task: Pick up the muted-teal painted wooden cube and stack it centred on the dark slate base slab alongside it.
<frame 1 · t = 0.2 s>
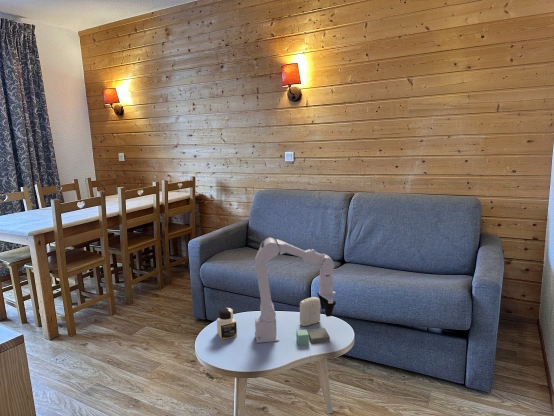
hand: (326, 312, 167), 10 cm above the table, fingers open, 7 cm apart
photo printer: (310, 323, 179), on the table
base: (318, 337, 165), on the table
cube: (302, 342, 162), on the table
medicine bottle: (227, 335, 170), on the table
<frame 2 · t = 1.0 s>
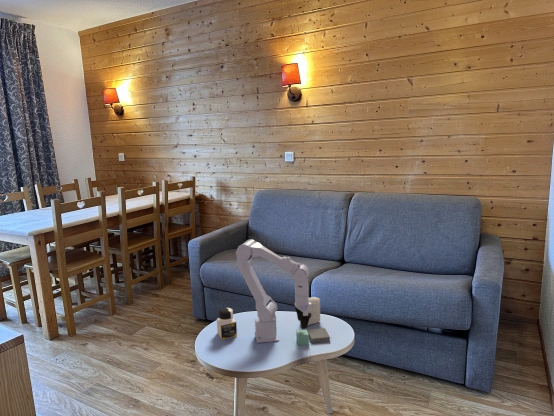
hand: (302, 324, 161), 8 cm above the table, fingers open, 7 cm apart
nothing on the table moved.
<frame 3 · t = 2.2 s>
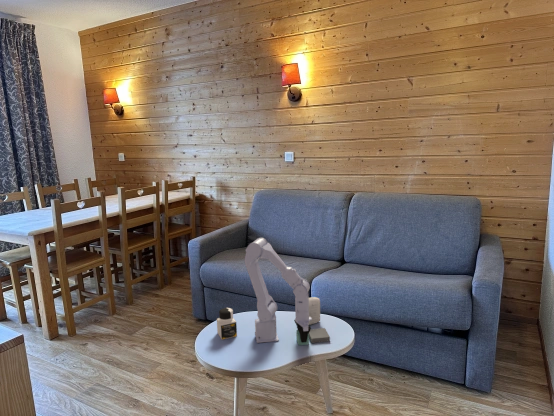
hand: (302, 338, 162), 1 cm above the table, fingers closed on cube, 4 cm apart
cube: (302, 342, 162), on the table, touching gripper
everything else where it was.
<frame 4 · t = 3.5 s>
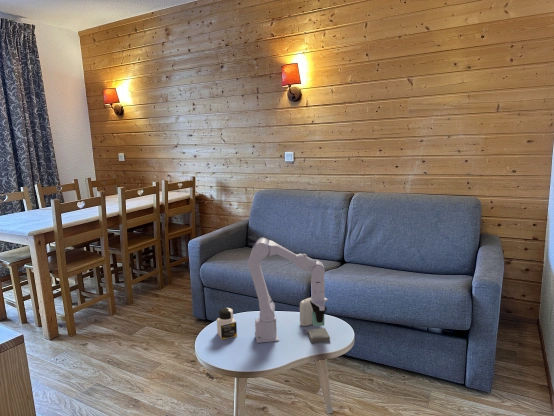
hand: (318, 319, 164), 8 cm above the table, fingers closed on cube, 4 cm apart
cube: (318, 323, 164), point 7 cm above the table, touching gripper
everything else where it was.
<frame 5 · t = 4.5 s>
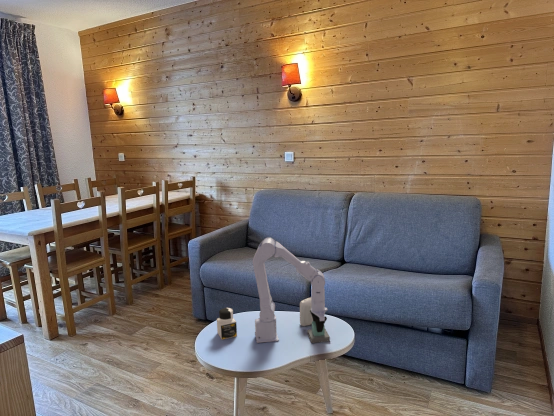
hand: (318, 329, 165), 4 cm above the table, fingers closed on cube, 4 cm apart
cube: (318, 333, 165), point 2 cm above the table, touching base, gripper
everything else where it was.
when the fingers open (4 cm above the table, at t = 4.8 s): cube stays where it is, resting on base.
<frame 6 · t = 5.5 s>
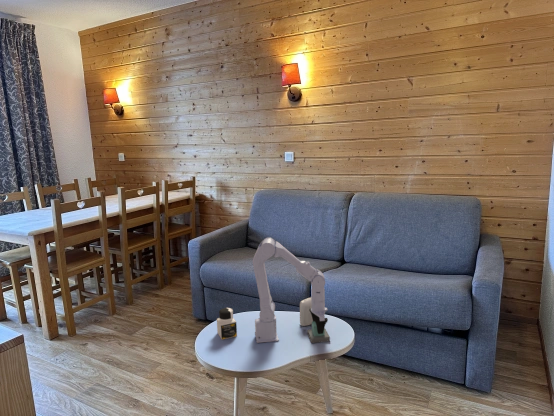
hand: (318, 329, 165), 4 cm above the table, fingers open, 7 cm apart
cube: (318, 333, 165), point 2 cm above the table, touching base
everything else where it was.
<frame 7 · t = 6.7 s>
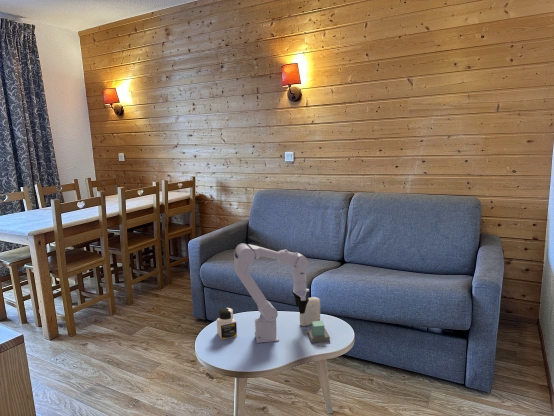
hand: (300, 309, 170), 10 cm above the table, fingers open, 7 cm apart
nothing on the table moved.
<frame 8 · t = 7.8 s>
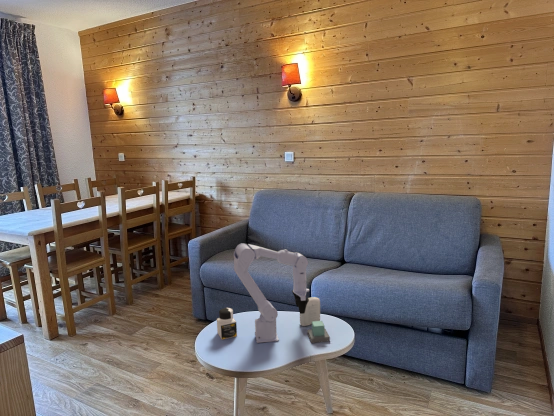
hand: (300, 309, 170), 10 cm above the table, fingers open, 7 cm apart
nothing on the table moved.
at the end: cube 0.1 cm off-centre on the base, point 2.0 cm above the base's base; cube tilted 0°; the gripper is holding nothing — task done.
